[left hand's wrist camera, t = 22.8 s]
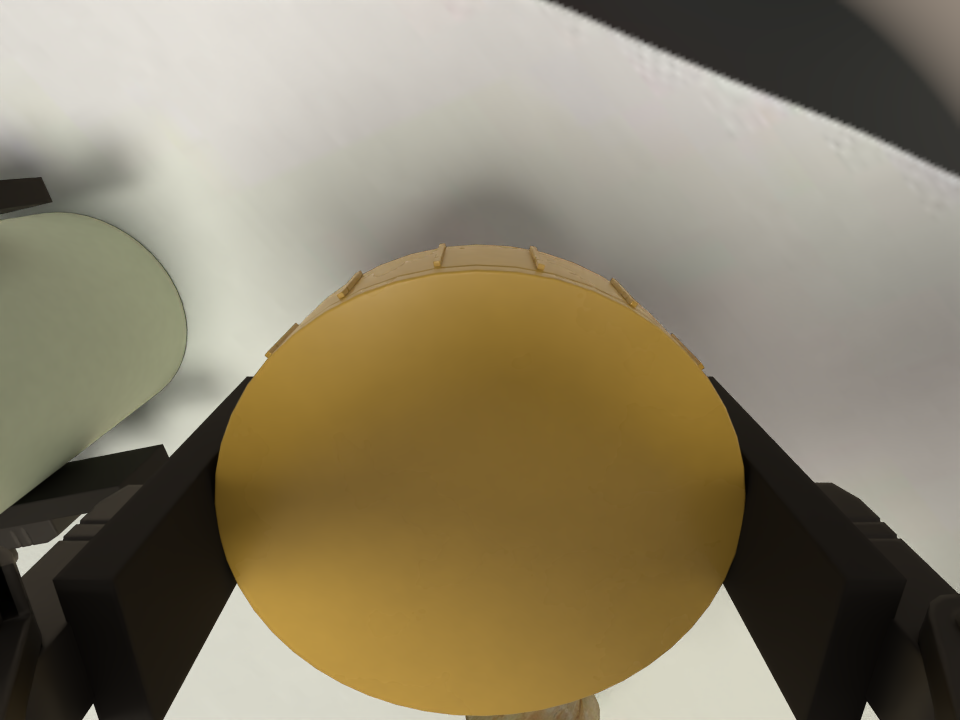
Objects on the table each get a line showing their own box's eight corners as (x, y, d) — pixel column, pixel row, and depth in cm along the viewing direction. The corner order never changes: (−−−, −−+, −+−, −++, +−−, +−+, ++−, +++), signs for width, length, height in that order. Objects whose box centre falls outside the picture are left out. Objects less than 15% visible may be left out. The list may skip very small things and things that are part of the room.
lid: (784, 493, 12) (844, 562, 10) (447, 691, 15) (442, 780, 13) (528, 129, 10) (541, 128, 8) (161, 433, 12) (96, 495, 10)
